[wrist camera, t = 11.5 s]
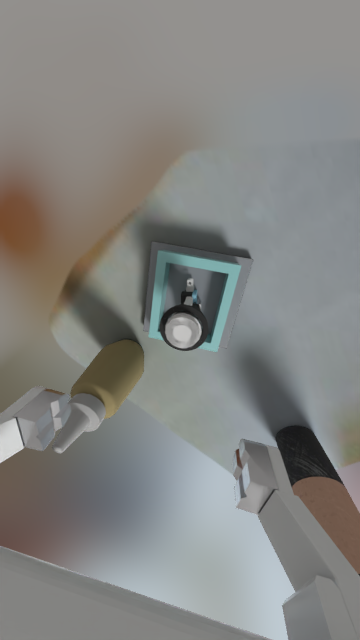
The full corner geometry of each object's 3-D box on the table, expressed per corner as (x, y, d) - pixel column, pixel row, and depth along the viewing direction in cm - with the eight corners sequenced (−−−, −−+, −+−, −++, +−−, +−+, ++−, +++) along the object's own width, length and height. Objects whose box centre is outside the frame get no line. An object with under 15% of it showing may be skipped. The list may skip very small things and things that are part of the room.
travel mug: (269, 447, 39) (322, 630, 20) (280, 421, 36) (353, 607, 17) (308, 455, 38) (400, 653, 20) (323, 429, 35) (446, 633, 17)
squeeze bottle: (121, 324, 33) (33, 405, 17) (158, 351, 34) (109, 452, 18) (102, 354, 36) (11, 446, 20) (136, 377, 37) (77, 484, 21)
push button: (173, 277, 27) (154, 294, 18) (210, 278, 27) (210, 296, 18) (174, 320, 30) (158, 353, 21) (208, 321, 29) (207, 357, 20)
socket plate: (251, 258, 26) (258, 261, 22) (225, 345, 32) (227, 359, 28) (153, 241, 27) (144, 241, 23) (145, 327, 33) (136, 339, 29)
